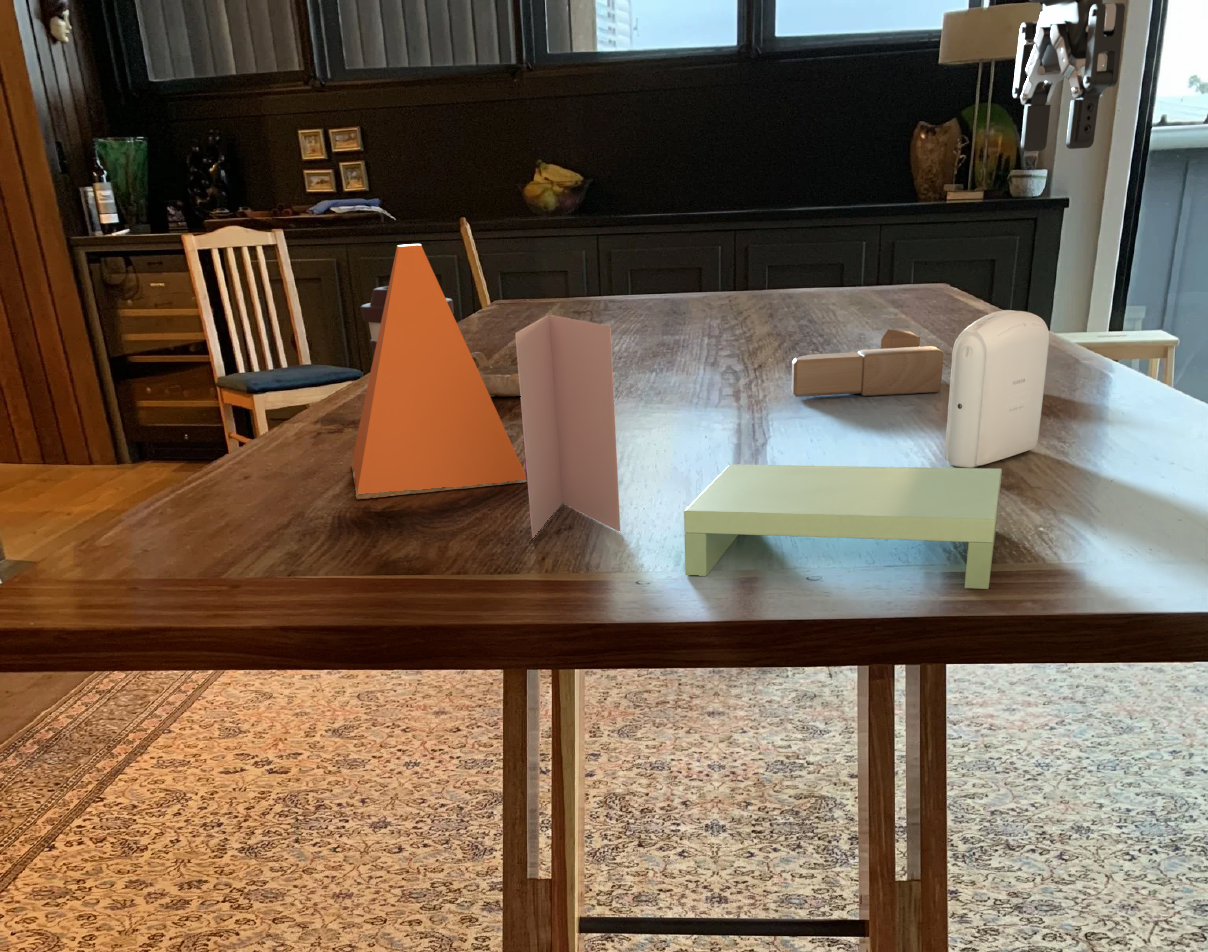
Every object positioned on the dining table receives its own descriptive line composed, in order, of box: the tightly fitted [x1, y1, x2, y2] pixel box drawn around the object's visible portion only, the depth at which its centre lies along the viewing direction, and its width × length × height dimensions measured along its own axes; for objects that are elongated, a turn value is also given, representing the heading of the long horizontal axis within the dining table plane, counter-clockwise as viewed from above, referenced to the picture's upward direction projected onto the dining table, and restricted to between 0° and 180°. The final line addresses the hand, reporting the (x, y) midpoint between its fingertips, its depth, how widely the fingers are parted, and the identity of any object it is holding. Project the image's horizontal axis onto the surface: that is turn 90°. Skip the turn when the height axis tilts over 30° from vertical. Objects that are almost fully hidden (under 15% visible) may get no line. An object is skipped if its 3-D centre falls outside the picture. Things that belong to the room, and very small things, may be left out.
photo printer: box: [944, 309, 1050, 468], centre depth 106 cm, size 10×4×12 cm, turn 130°
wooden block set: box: [791, 329, 945, 398], centre depth 145 cm, size 17×6×18 cm
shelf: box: [683, 464, 1003, 590], centre depth 84 cm, size 20×14×4 cm
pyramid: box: [352, 243, 527, 494], centre depth 110 cm, size 16×16×20 cm
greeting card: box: [514, 314, 621, 539], centre depth 93 cm, size 11×7×15 cm, turn 170°
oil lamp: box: [470, 351, 520, 397], centre depth 153 cm, size 13×8×5 cm, turn 43°
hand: (1055, 149), depth 108 cm, fingers open, 8 cm apart
